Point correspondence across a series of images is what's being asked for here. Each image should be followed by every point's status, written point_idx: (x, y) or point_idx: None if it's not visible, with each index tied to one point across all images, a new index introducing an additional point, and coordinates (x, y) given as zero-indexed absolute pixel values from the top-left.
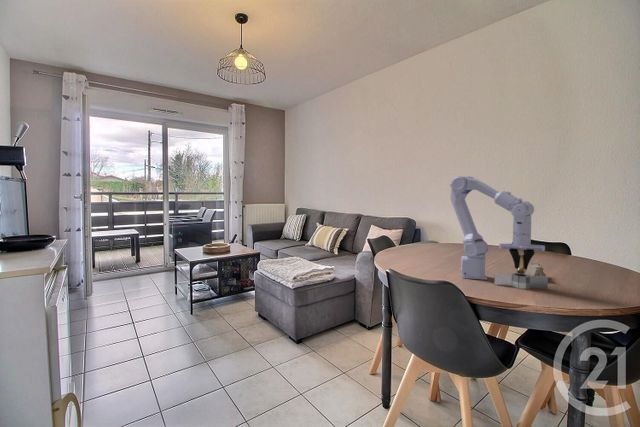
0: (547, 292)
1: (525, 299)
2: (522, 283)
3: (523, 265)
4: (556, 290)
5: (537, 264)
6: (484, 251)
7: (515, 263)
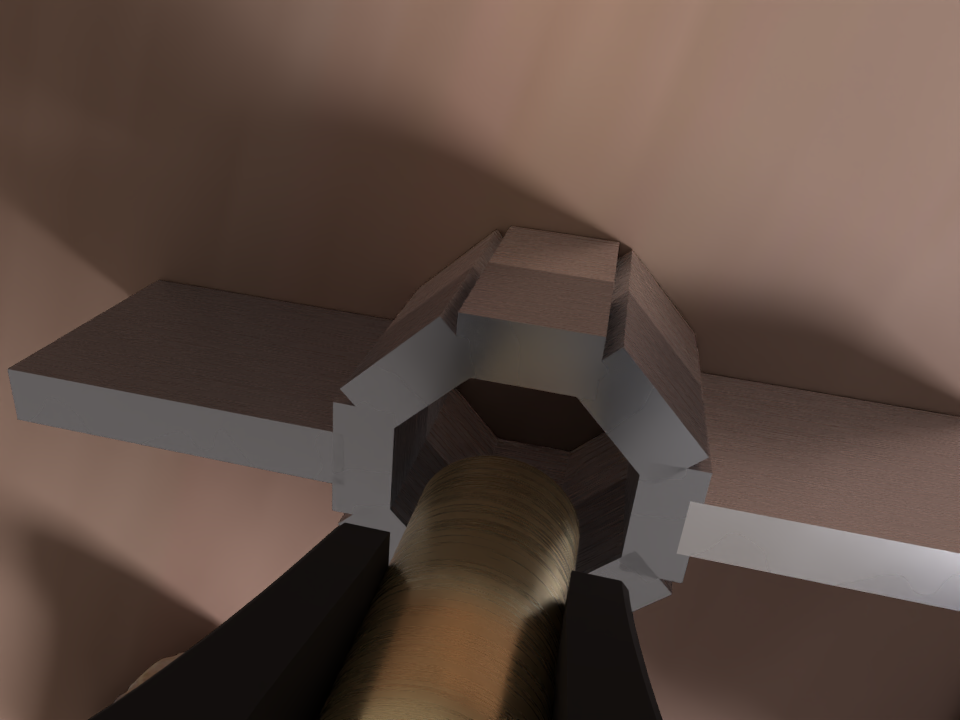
0: (199, 84)
1: None
2: (549, 266)
3: (397, 621)
4: (52, 229)
5: None
6: None
7: (658, 717)
